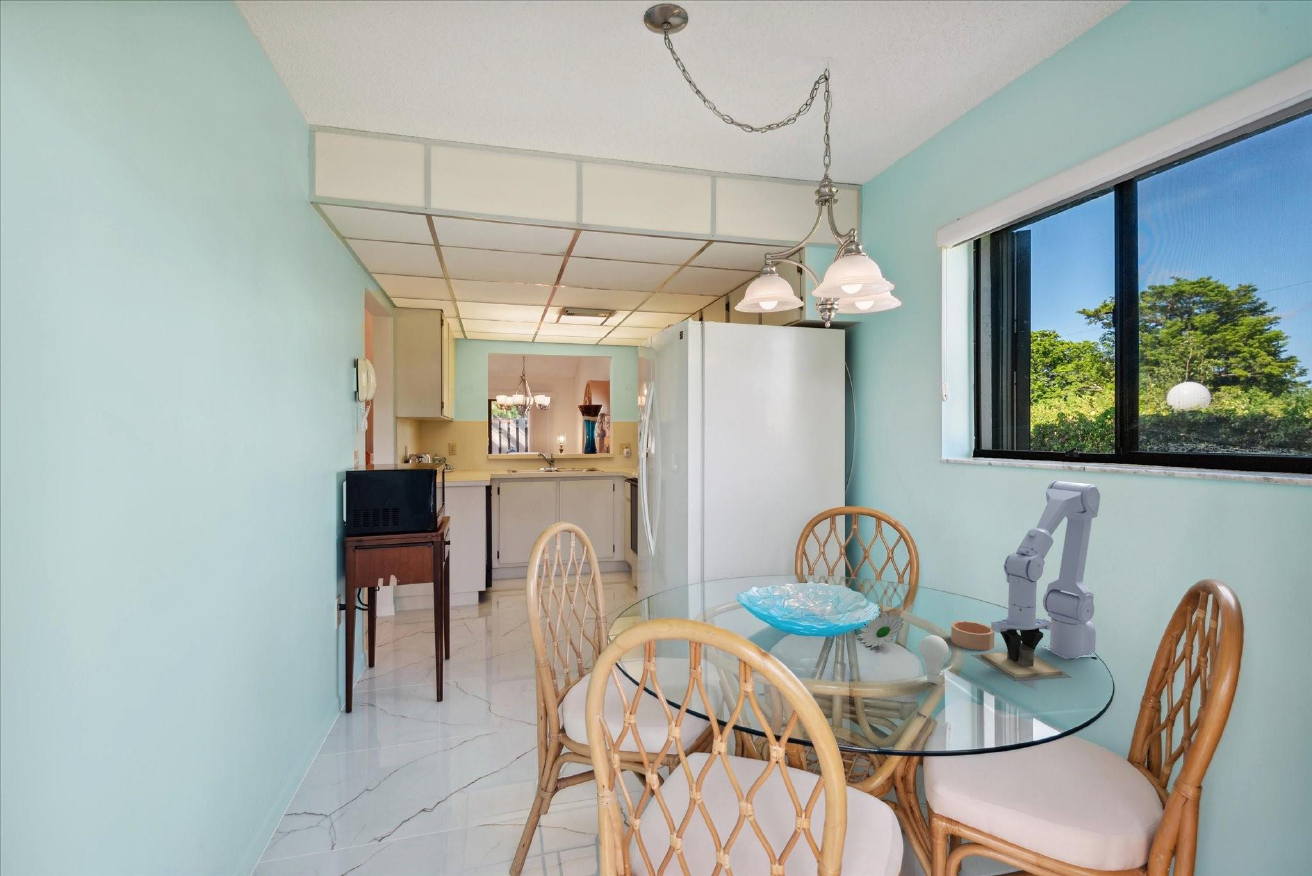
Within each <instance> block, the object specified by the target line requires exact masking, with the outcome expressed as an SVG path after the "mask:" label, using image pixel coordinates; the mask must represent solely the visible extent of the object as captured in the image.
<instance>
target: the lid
mask: <svg viewBox="0 0 1312 876" xmlns="http://www.w3.org/2000/svg"><path fill="white" fill-rule="evenodd" d="M980 654H981V657H982V658H983V659H985V660H987V661H988V662H990V663H992V664H993V665H995V666H997V667H998V668H1000V669H1002V670H1003V671H1005V672H1007V673H1008V674H1010V675H1012V676H1013V677H1015V678H1020V677H1035V676H1050V675H1062V672H1063V670H1060V669H1058V668H1057V667H1055V666H1053V665H1051V664H1050V663H1047V662H1045V661H1043V660H1041V659H1040V658H1038V657H1036V656H1035V651H1034V649H1032V648H1030V647H1028V646H1026V645H1024V644H1022V642H1021V644H1020V648H1019V658H1018V661H1016V662H1015V661H1013V660H1012V659H1010V658H1009V654H1008V650H1007V652H1006V651H1005V652H1004V651H1003V652H990V653H980Z"/></svg>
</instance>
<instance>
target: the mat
mask: <svg viewBox="0 0 1312 876" xmlns="http://www.w3.org/2000/svg"><path fill="white" fill-rule="evenodd" d="M981 654H982V653H980V654H978V653H977V654H971V656H972V657H974V658H976V659H977V660H979V661H980V662H982V663H984V664H985V665H987V666H989V667H990V668H992V669H994V670H995V671H997V672H998V673H1000V674H1002V675H1004V676H1005V677H1006V678H1008V679H1010V680H1011V681H1013V682H1025V681H1037V680H1038V681H1039V680H1051V679H1054V680H1055V679H1068V678H1073V676H1072V675H1070V674H1068V673H1066V672H1064V671H1062V675H1050V676H1035V677H1020V678H1015V677H1013V676H1012V675H1010V674H1008V673H1007V672H1005V671H1003V670H1002V669H1000V668H998V667H997V666H995V665H993V664H992V663H990V662H988V661H987V660H985V659H983V658H982V657H981Z"/></svg>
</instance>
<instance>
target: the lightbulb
mask: <svg viewBox="0 0 1312 876" xmlns="http://www.w3.org/2000/svg"><path fill="white" fill-rule="evenodd" d="M918 648H919V653H920V655H921V657H922V659H923V661H924V664H925V671H926V679H927V681H928V682H929V683H930V684H932V683H934V684H937V683H939V682H940V675H941V673H942V667H943V665H944V663H945V662H946V660H947V659H948V657H949V652H950V649H949V646H948V643H947V642H946V641H945V640H944V639H943V638H942V637H940V636H938V635H936V634H935V635H934V634H930V635H927V636H924V637H923V638H921V640H920V642H919V647H918ZM934 684H933V685H934Z"/></svg>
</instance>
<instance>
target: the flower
mask: <svg viewBox="0 0 1312 876" xmlns="http://www.w3.org/2000/svg"><path fill="white" fill-rule="evenodd" d="M869 621H870V623H868V624H866V625H865V626H866V627H862V628H860V631H862V633H859V634H857V638H858V639H862V640H860V641H859V642H858V643H859V644H861V643H864V644H863V647H864V648H866V647H870V646H871V647H870V648H871V649H872V648H874V647H877V646H878V647H881V646H882V647H883V646H884V645H885V644H887V642H888V643H889V642H892V641H893V640H894V638H895V636H898V635H899V634H900V630H901V629H902V628H903V626H904V623H903V621H904V618H903V617H901V613H898V612H895V614H894V612H893V611H892V610H891V611H890V612H889V615H888V613H887V612H886V611H883V612H880V617H879V616H877V617H876V618H875V619H874V618H873V620H869Z"/></svg>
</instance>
